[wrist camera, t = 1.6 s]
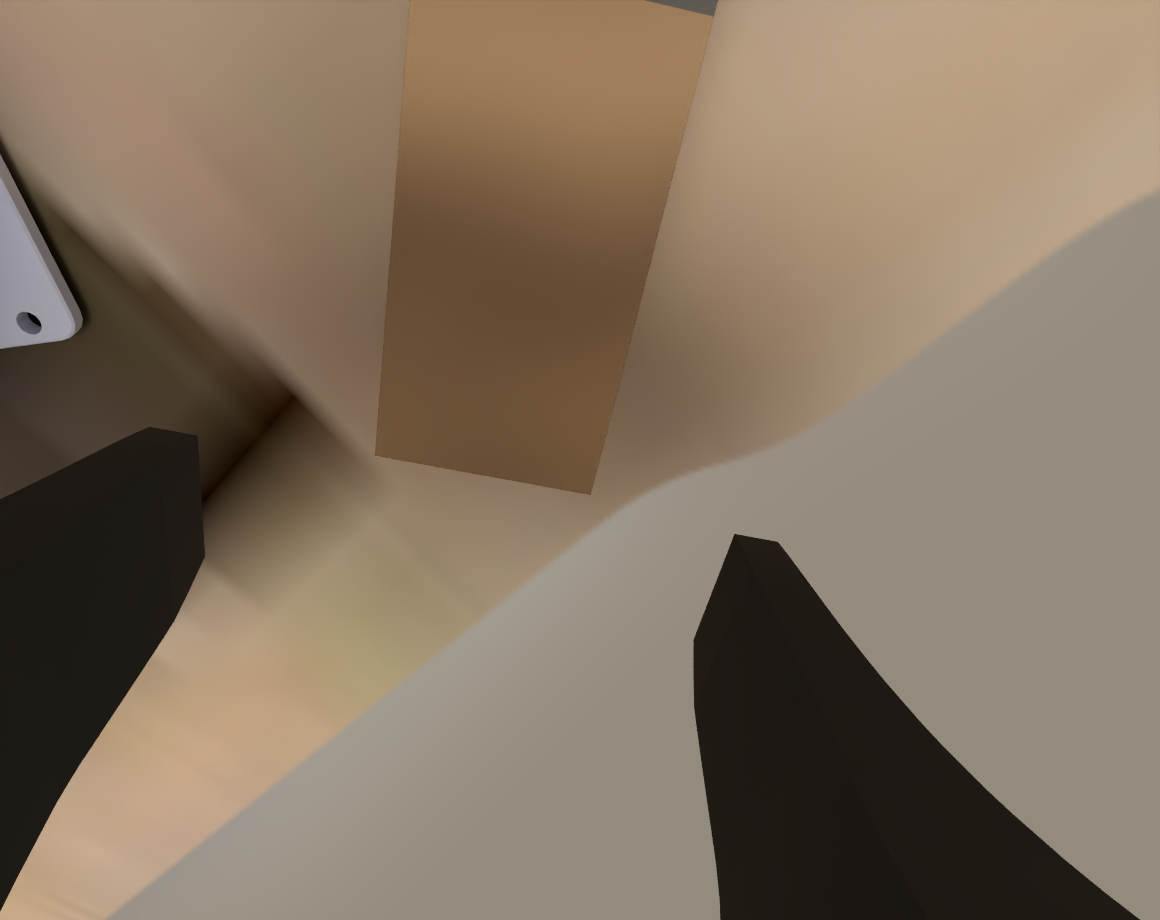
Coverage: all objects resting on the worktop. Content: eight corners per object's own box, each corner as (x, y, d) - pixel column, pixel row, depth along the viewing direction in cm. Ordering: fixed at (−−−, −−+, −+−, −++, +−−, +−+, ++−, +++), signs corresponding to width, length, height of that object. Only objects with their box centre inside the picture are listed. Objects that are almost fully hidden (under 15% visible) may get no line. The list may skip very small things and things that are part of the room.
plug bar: (594, 384, 19) (590, 495, 15) (421, 350, 19) (375, 455, 15) (738, -219, 13) (789, -277, 9) (488, -284, 13) (439, -371, 9)
